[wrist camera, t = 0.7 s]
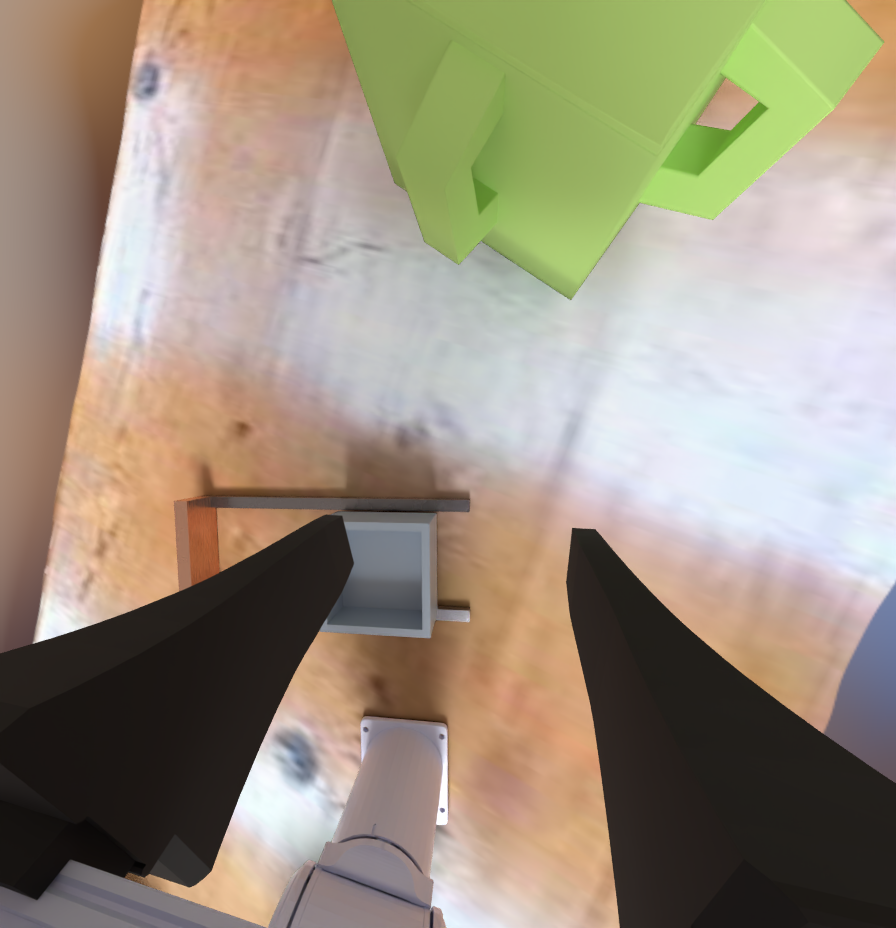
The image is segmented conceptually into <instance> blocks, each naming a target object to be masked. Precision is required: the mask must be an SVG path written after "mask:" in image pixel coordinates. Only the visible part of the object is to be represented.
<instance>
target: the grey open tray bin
mask: <svg viewBox="0 0 896 928" xmlns="http://www.w3.org/2000/svg"><path fill="white" fill-rule="evenodd" d="M331 515H342V516H343V520H344V524H345V528H346V532H347V536H348V540H349V544H350V549H351V553H352V557H353V561H354V566H353V568H352V570H351V573H350V575H349V578H348V580H347V582H346V585H345V587H344V589H343V591H342V593H341V595H340V597H339V598H338V600H337V602H336V603H335V605H334V607H333V608H332V610H331V612H330V614H329V615H328V617H327V619H326V620H325V622H324V624H323V625H322V627H321V629H320V632H334V633H350V634H367V635H384V636H400V637H417V638H431V635H432V631H433V628H434V624H435V620H436V617H437V513H401V512H345V511H337V512H335V513H333V514H331Z"/></svg>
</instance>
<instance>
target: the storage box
mask: <svg viewBox="0 0 896 928" xmlns="http://www.w3.org/2000/svg"><path fill="white" fill-rule="evenodd" d="M332 3H333V6H334V8H335V11H336V14H337V17H338V20H339V23H340V26H341V29H342V32H343V35H344V38H345V40H346V43H347V46H348V49H349V52H350V55H351V58H352V61H353V64H354V67H355V69H356V72H357V75H358V78H359V81H360V84H361V87H362V90H363V93H364V96H365V98H366V101H367V104H368V107H369V110H370V113H371V116H372V119H373V122H374V125H375V127H376V130H377V133H378V136H379V139H380V142H381V145H382V148H383V151H384V154H385V156H386V159H387V162H388V165H389V168H390V171H391V174H392V177H393V180H394V183H395V184H396V185H398V186H399V187H401V188H402V189H404V190H405V191H407V192H408V195H409V198H410V201H411V204H412V207H413V210H414V213H415V216H416V219H417V221H418V224H419V227H420V230H421V233H422V236H423V239H424V242H425V243H427V244H428V245H430V246H431V247H433V248H434V249H436V250H437V251H439V252H440V253H442V254H443V255H445V256H446V257H448V258H449V259H451V260H452V261H454V262H455V263H457V264H458V265H459V264H460V263H461V262H462V261H463V260H464V259H465V258H466V256H467V255H468V254H469V253H470V252H471V251H472V250H473V249H474V248H475V247H476V246H477V244H478V243H479V242H480V241H482V242H483V243H485V244H486V245H488V246H489V247H491V248H492V249H494V250H495V251H497V252H498V253H500V254H501V255H503V256H504V257H506V258H507V259H509V260H510V261H512V262H513V263H515V264H517V265H518V266H520V267H521V268H523V269H524V270H526V271H527V272H529V273H530V274H532V275H533V276H535V277H536V278H538V279H539V280H541V281H542V282H544V283H545V284H547V285H548V286H550V287H551V288H553V289H554V290H556V291H557V292H559V293H560V294H562V295H563V296H565V297H567V298H568V299H570V300H571V299H572V298H573V296H574V295H575V294H576V292H577V291H578V289H579V288H580V287H581V285H582V284H583V282H584V281H585V279H586V278H587V277H588V275H589V274H590V272H591V271H592V270H593V268H594V267H595V265H596V264H597V262H598V261H599V260H600V258H601V257H602V255H603V254H604V253H605V251H606V250H607V248H608V247H609V246H610V244H611V243H612V241H613V240H614V238H615V237H616V236H617V234H618V233H619V231H620V230H621V229H622V227H623V226H624V224H625V223H626V221H627V220H628V219H629V217H630V216H631V214H632V213H633V212H634V210H635V209H636V207H637V206H638V205H639V203H643V204H647V205H651V206H656V207H660V208H664V209H668V210H672V211H677V212H681V213H685V214H689V215H694V216H698V217H702V218H706V219H711V220H713V219H714V218H715V217H717V216H718V215H719V214H720V213H721V212H722V211H723V210H724V209H725V208H726V207H727V206H729V205H730V204H731V203H732V202H733V201H734V200H735V199H736V198H737V197H738V196H739V195H741V194H742V193H743V192H744V191H745V190H746V189H747V188H748V187H749V186H750V185H751V184H753V183H754V182H755V181H756V180H757V179H758V178H759V177H760V176H761V175H762V174H763V173H765V172H766V171H767V170H768V169H769V168H770V167H771V166H772V165H773V164H774V163H776V162H777V161H778V160H779V159H780V158H781V157H782V156H783V155H784V154H785V153H786V152H788V151H789V150H790V149H791V148H792V147H793V146H794V145H795V144H796V143H797V142H798V141H800V140H801V139H802V138H803V137H804V136H805V135H806V134H807V133H808V132H809V131H810V130H812V129H813V128H814V127H815V126H816V125H817V124H818V123H819V122H820V121H821V120H823V119H824V118H825V117H826V116H827V115H828V114H829V113H830V112H831V111H832V110H833V109H834V108H835V107H836V106H837V104H838V103H839V102H840V100H841V99H842V98H843V96H844V95H845V94H846V93H847V91H848V90H849V89H850V87H851V86H852V85H853V83H854V82H855V81H856V79H857V78H858V77H859V75H860V74H861V73H862V71H863V70H864V69H865V67H866V66H867V65H868V63H869V62H870V61H871V59H872V58H873V57H874V55H875V54H876V53H877V51H878V50H879V49H880V47H881V46H882V45H883V43H884V41H883V40H882V39H881V38H880V37H879V35H878V34H877V33H876V32H875V31H874V30H873V29H872V28H871V27H870V26H869V25H868V24H867V23H866V21H865V20H864V19H863V18H862V17H861V16H860V15H859V14H858V13H857V12H856V11H855V10H854V9H853V7H852V6H851V5H850V4H849V3H848V2H847V1H846V0H332ZM725 78H727V79H729V80H730V81H731V82H733V83H734V84H736V85H737V86H738V87H740V88H741V89H742V90H744V91H745V92H747V93H748V94H749V95H751V96H752V97H753V98H755V99H756V100H758V101H759V103H758V104H757V105H756V106H755V107H754V108H753V109H752V110H751V111H750V112H749V113H748V114H747V115H746V116H745V117H744V118H743V119H742V120H741V121H740V122H739V123H738V124H737V125H736V126H735V127H734V128H733V129H732V130H731V131H730V130H724V129H718V128H713V127H707V126H701V125H695V124H696V122H697V121H698V119H699V118H700V116H701V115H702V113H703V112H704V110H705V109H706V107H707V106H708V104H709V103H710V101H711V100H712V98H713V97H714V95H715V93H716V92H717V90H718V89H719V87H720V86H721V84H722V83H723V81H724V80H725Z"/></svg>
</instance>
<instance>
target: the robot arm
mask: <svg viewBox="0 0 896 928" xmlns="http://www.w3.org/2000/svg"><path fill="white" fill-rule="evenodd" d="M353 566H354V561H353V557H352V553H351V549H350V544H349V540H348V536H347V532H346V528H345V524H344V520H343V516H342V515H324V516H322V517H320V518H318V519H316V520H314V521H312V522H310V523H308V524H307V525H305V526H303V527H301V528H299V529H298V530H296V531H294V532H293V533H291V534H289V535H287V536H286V537H284V538H282V539H280V540H279V541H277V542H275V543H273V544H272V545H270V546H268V547H267V548H265V549H263V550H261V551H259V552H258V553H256V554H254V555H252V556H250V557H248V558H246V559H245V560H243V561H241V562H239V563H237V564H235V565H233V566H232V567H230V568H228V569H226V570H224V571H222V572H220V573H218V574H216V575H214V576H212V577H210V578H208V579H206V580H204V581H201V582H199V583H197V584H195V585H193V586H190V587H188V588H186V589H184V590H182V591H179V592H177V593H175V594H172V595H170V596H167V597H165V598H162V599H160V600H157V601H155V602H152V603H150V604H148V605H145V606H143V607H140V608H138V609H135V610H133V611H130V612H127V613H125V614H122V615H119V616H116V617H114V618H111V619H108V620H105V621H103V622H100V623H97V624H94V625H91V626H88V627H85V628H82V629H79V630H76V631H73V632H70V633H67V634H64V635H61V636H58V637H54V638H51V639H48V640H44V641H41V642H38V643H34V644H31V645H28V646H24V647H21V648H17V649H14V650H10V651H7V652H4V653H0V928H266V927H263V926H260V925H257V924H255V923H252V922H249V921H246V920H243V919H240V918H237V917H234V916H232V915H229V914H226V913H223V912H220V911H217V910H214V909H211V908H209V907H206V906H203V905H200V904H197V903H194V902H191V901H188V900H185V899H183V898H180V897H177V896H174V895H171V894H168V893H165V892H162V891H160V890H157V889H154V888H151V887H148V886H145V885H142V884H139V883H137V882H134V881H131V880H128V879H125V878H124V877H125V876H126V874H127V873H128V872H129V873H132V874H135V875H138V876H141V877H144V878H145V877H146V876H147V875H148V874H151V875H154V876H157V877H160V878H163V879H166V880H169V881H172V882H175V883H178V884H181V885H184V886H187V887H192V886H194V885H196V884H197V883H199V882H200V881H201V880H203V879H204V878H205V877H206V876H207V875H208V874H209V873H210V872H211V871H212V868H213V865H214V863H215V860H216V857H217V854H218V851H219V849H220V846H221V843H222V841H223V838H224V836H225V833H226V830H227V828H228V825H229V823H230V820H231V817H232V815H233V812H234V810H235V807H236V804H237V802H238V799H239V796H240V794H241V792H242V789H243V787H244V784H245V782H246V780H247V777H248V775H249V772H250V770H251V768H252V765H253V763H254V760H255V758H256V756H257V753H258V751H259V748H260V746H261V744H262V742H263V739H264V737H265V735H266V733H267V731H268V728H269V726H270V724H271V722H272V719H273V717H274V715H275V713H276V711H277V708H278V706H279V704H280V702H281V700H282V698H283V696H284V694H285V692H286V690H287V688H288V686H289V683H290V681H291V679H292V677H293V675H294V673H295V671H296V669H297V668H298V666H299V664H300V662H301V660H302V659H303V657H304V655H305V653H306V652H307V650H308V648H309V647H310V645H311V643H312V642H313V640H314V639H315V637H316V635H317V634H318V632H319V630H320V629H321V627H322V625H323V624H324V622H325V620H326V619H327V617H328V615H329V614H330V612H331V610H332V608H333V607H334V605H335V603H336V602H337V600H338V598H339V597H340V595H341V593H342V591H343V589H344V587H345V585H346V582H347V580H348V578H349V575H350V573H351V570H352V568H353ZM566 584H567V593H568V602H569V611H570V618H571V622H572V627H573V631H574V635H575V640H576V644H577V648H578V653H579V657H580V661H581V666H582V670H583V674H584V679H585V683H586V687H587V692H588V696H589V700H590V705H591V711H592V716H593V721H594V728H595V735H596V742H597V749H598V756H599V763H600V770H601V777H602V785H603V792H604V800H605V807H606V815H607V822H608V830H609V839H610V847H611V855H612V863H613V871H614V880H615V888H616V896H617V905H618V914H619V923H620V928H896V783H894V782H893V781H891V780H890V779H888V778H887V777H885V776H884V775H882V774H881V773H879V772H877V771H876V770H875V769H873V768H872V767H870V766H869V765H867V764H866V763H865V762H863V761H862V760H860V759H859V758H857V757H856V756H855V755H853V754H852V753H850V752H849V751H847V750H846V749H844V748H843V747H842V746H840V745H839V744H837V743H836V742H834V741H833V740H831V739H830V738H829V737H827V736H826V735H824V734H823V733H821V732H820V731H818V730H817V729H816V728H814V727H813V726H812V725H810V724H809V723H807V722H806V721H805V720H803V719H802V718H801V717H799V716H798V715H796V714H795V713H794V712H792V711H791V710H789V709H788V708H787V707H785V706H784V705H783V704H781V703H780V702H779V701H777V700H776V699H775V698H774V697H772V696H771V695H770V694H768V693H767V692H766V691H764V690H763V689H762V688H760V687H759V686H758V685H757V684H755V683H754V682H753V681H751V680H750V679H749V678H747V677H746V676H745V675H743V674H742V673H741V672H740V671H738V670H737V669H736V668H735V667H734V666H732V665H731V664H730V663H729V662H727V661H726V660H725V659H724V658H722V657H721V656H720V655H719V654H718V653H716V652H715V651H714V650H713V649H712V648H711V647H709V646H708V645H707V644H706V643H705V642H704V641H702V640H701V639H700V638H699V637H698V636H697V635H695V634H694V633H693V632H692V631H691V630H690V629H689V628H688V627H686V626H685V625H684V624H683V623H682V622H681V621H680V620H679V619H678V618H677V617H676V616H675V615H674V614H672V613H671V612H670V611H669V610H668V609H667V608H666V607H665V606H664V605H663V604H662V603H661V602H660V601H659V600H658V599H657V598H656V597H655V596H654V595H653V594H652V593H651V592H650V591H649V590H648V588H647V587H646V586H645V585H644V584H643V583H642V582H641V581H640V580H639V579H638V578H637V577H636V576H635V575H634V573H633V572H632V571H631V570H630V569H629V568H628V567H627V566H626V565H625V563H624V562H623V561H622V560H621V559H620V558H619V557H618V555H617V554H616V553H615V552H614V551H613V550H612V548H611V547H610V546H609V545H608V544H607V542H606V541H605V540H604V539H603V538H602V536H601V535H600V534H599V533H598V532H597V531H596V530H595V529H580V528H572V535H571V544H570V553H569V562H568V571H567V580H566ZM365 727H367V728H368V729H367V728H365ZM440 734H443V735H444V736H442V735H440ZM361 763H362V764H361V766H360V769H359V771H358V774H357V777H356V779H355V782H354V785H353V787H352V790H351V792H350V795H349V798H348V800H347V803H346V805H345V808H344V811H343V813H342V816H341V818H340V821H339V824H338V826H337V829H336V831H335V834H334V837H333V839H332V842H326V844H325V847H324V849H323V852H322V854H321V857H320V859H319V862H318V864H317V865H316V862H314V861H311V860H308V861H307V862H305V864H304V865H303V866H302V867H301V868H299V869H298V870H297V871H296V872H295V873H294V874H293V875H292V877H291V879H290V880H289V882H288V884H287V886H286V888H285V890H284V892H283V894H282V896H281V898H280V901H279V903H278V905H277V907H276V910H275V912H274V914H273V917H272V919H271V921H270V924H269V926H268V928H446V925H445V922H444V919H443V914H442V911H441V909H440V908H437V907H434V906H433V907H432V908H431V900H432V891H433V883H434V882H433V880H432V879H430V870H431V862H432V854H433V846H434V838H435V830H436V824H438V825H445V824H447V822H448V728H447V725H446V724H444V723H438V722H427V721H416V720H404V719H393V718H382V717H371V716H365V717H363V718H362V720H361ZM441 807H443V808H441ZM430 908H431V910H430Z"/></svg>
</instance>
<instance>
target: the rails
mask: <svg viewBox="0 0 896 928" xmlns="http://www.w3.org/2000/svg"><path fill="white" fill-rule="evenodd" d="M216 508H270V509H328V510H385V511H442V512H470V499H428V498H352V497H276V496H199V497H193V498H188V499H182V500H177V501H174V510H175V527H176V544H177V562H178V579H179V591H182V590H184V589H186V588H188V587H190V586H193V585H195V584H197V583H199V582H201V581H204V580H206V579H208V578H210V577H212V576H214V575H216V574H218V573H219V558H218V538H217V518H216ZM436 620H441V621H459V622H470V607H453V606H437V617H436Z"/></svg>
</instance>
